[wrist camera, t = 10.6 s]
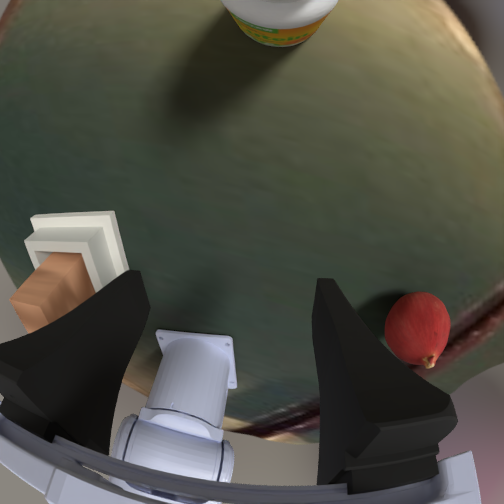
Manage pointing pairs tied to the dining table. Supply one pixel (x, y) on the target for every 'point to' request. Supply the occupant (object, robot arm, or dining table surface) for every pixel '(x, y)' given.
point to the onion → (417, 328)
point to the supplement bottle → (279, 19)
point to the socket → (80, 242)
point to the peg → (52, 290)
